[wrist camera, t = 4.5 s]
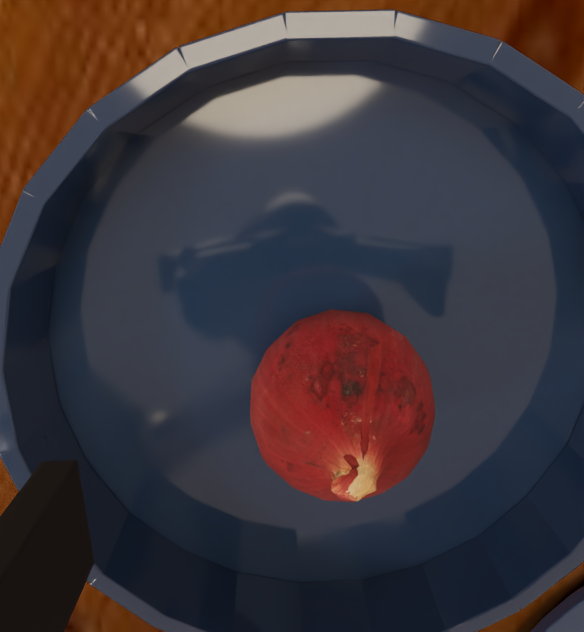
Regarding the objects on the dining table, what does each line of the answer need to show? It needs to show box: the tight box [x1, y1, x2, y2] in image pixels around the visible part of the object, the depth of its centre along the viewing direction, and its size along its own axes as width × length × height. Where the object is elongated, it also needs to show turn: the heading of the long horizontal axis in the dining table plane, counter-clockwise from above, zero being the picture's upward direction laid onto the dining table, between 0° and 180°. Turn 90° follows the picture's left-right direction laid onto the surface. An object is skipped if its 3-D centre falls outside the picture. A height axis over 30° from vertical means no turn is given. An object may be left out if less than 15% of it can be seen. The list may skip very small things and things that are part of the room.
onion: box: [250, 309, 435, 502], centre depth 17 cm, size 6×6×8 cm
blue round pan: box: [0, 9, 584, 632], centre depth 19 cm, size 22×22×4 cm
